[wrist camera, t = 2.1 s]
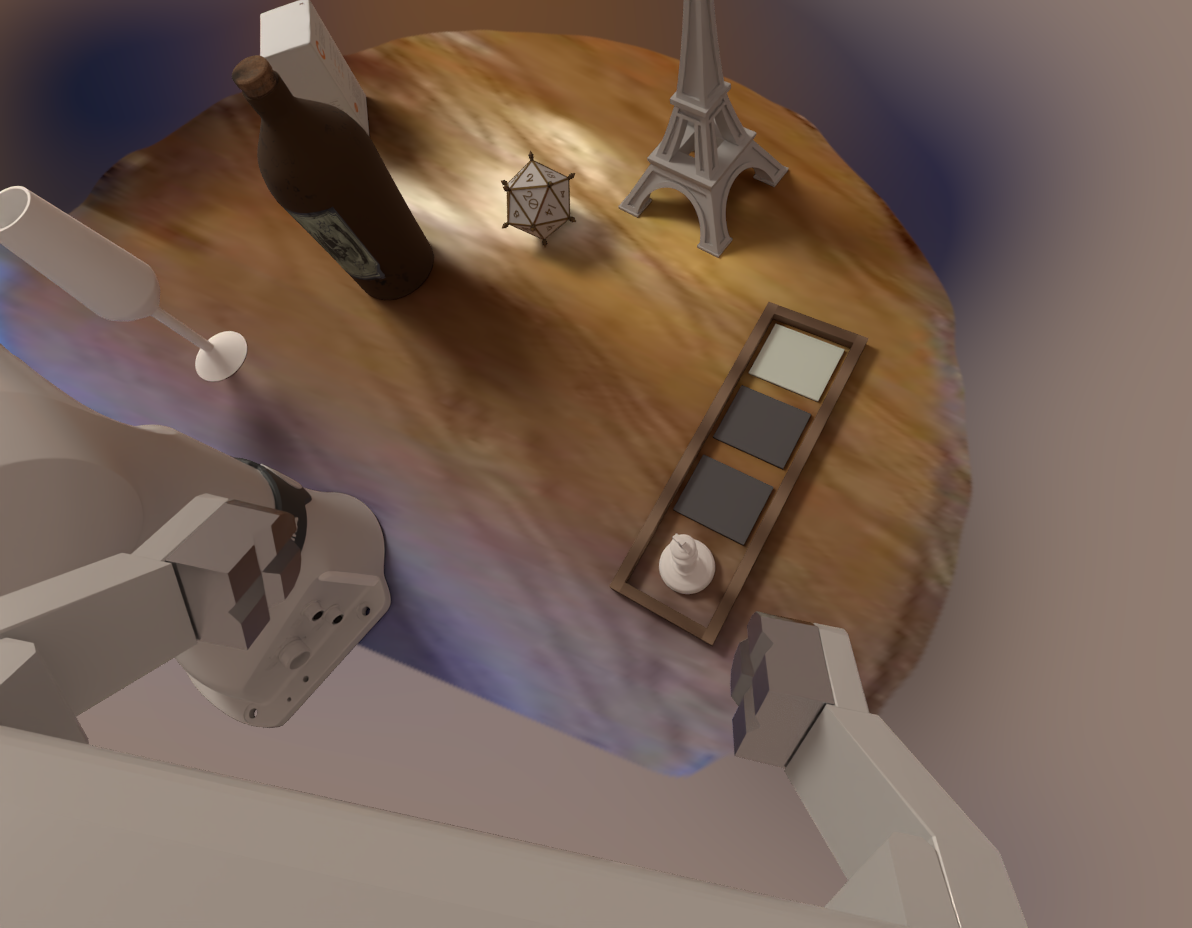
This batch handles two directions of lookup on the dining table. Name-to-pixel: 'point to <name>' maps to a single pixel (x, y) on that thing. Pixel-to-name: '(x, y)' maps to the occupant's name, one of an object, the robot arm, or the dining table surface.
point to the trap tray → (695, 446)
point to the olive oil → (335, 185)
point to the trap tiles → (728, 492)
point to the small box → (310, 59)
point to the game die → (538, 200)
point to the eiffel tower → (703, 136)
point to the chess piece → (686, 565)
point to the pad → (796, 362)
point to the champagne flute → (102, 274)
